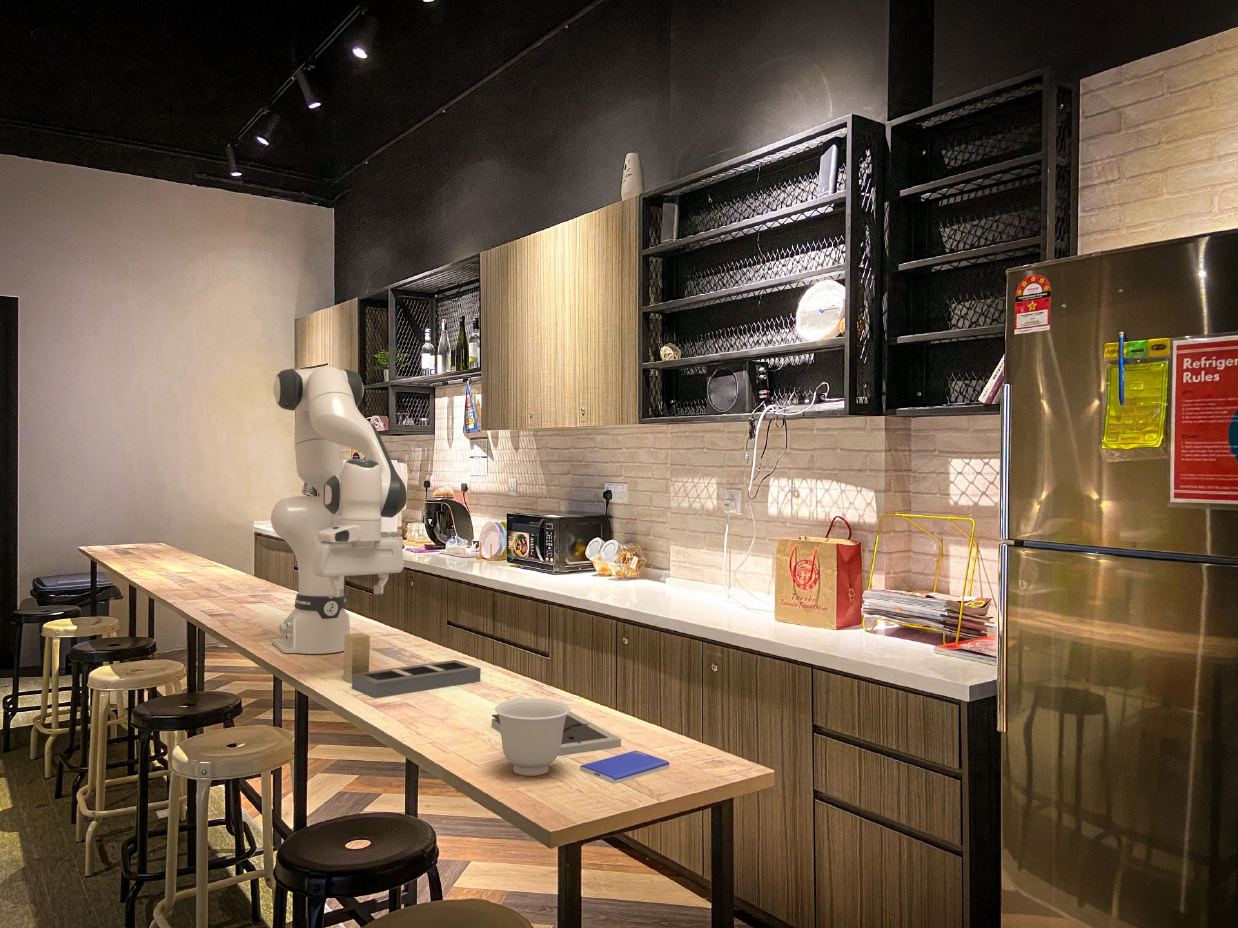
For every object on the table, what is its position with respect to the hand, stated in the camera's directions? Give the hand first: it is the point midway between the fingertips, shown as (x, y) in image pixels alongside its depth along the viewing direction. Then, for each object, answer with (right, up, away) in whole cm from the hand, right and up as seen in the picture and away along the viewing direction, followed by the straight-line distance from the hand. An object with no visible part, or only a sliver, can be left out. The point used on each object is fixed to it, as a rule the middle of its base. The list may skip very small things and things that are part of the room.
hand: (358, 595), depth 205 cm
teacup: (+43, -20, -55) cm, 72 cm away
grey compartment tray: (+13, -19, -2) cm, 23 cm away
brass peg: (-1, -19, 0) cm, 19 cm away
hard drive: (+58, -21, -54) cm, 82 cm away
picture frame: (+46, -21, -37) cm, 63 cm away
